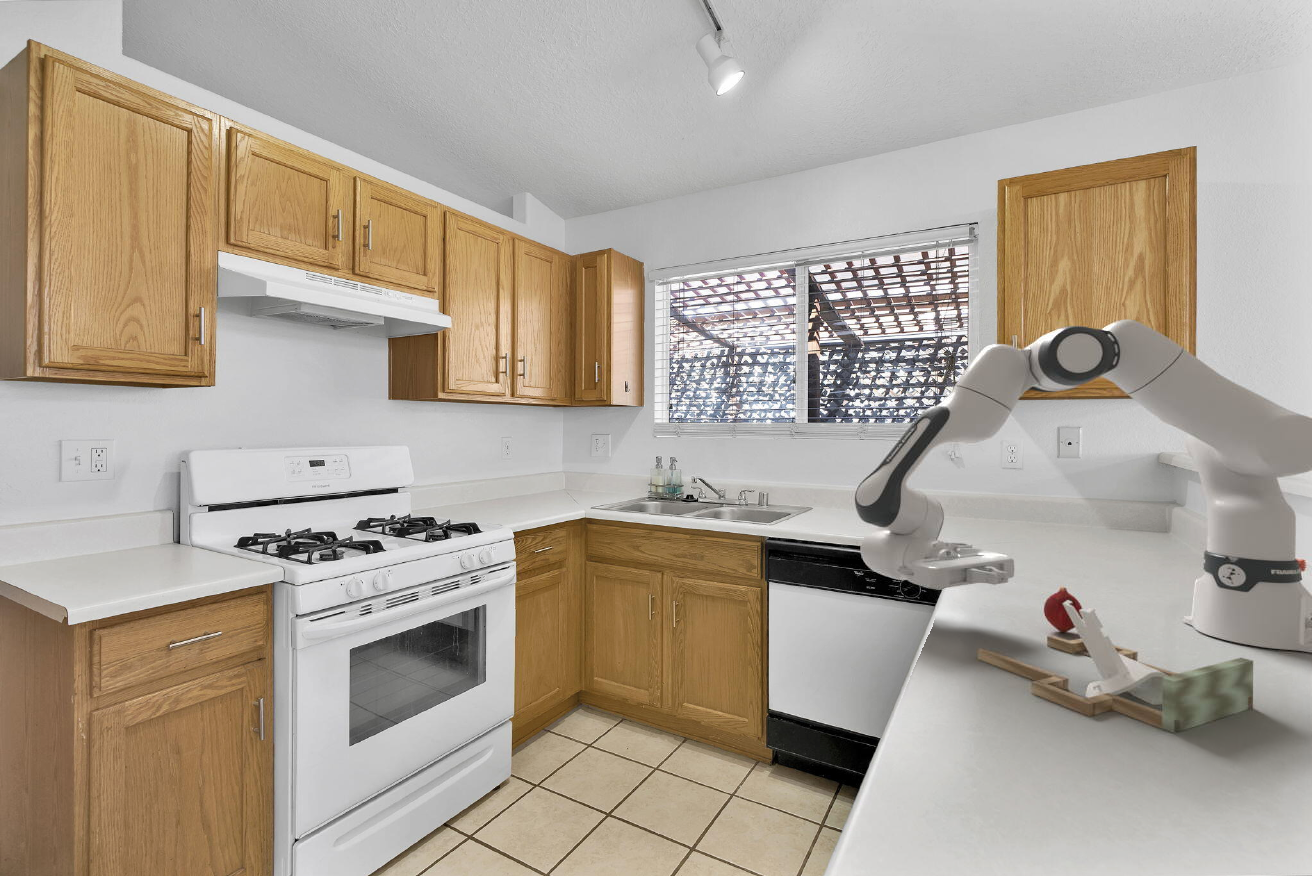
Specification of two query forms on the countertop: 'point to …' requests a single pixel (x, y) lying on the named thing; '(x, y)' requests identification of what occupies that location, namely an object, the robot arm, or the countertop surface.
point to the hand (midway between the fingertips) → (1002, 578)
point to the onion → (1060, 610)
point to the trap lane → (1182, 694)
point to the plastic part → (1114, 662)
